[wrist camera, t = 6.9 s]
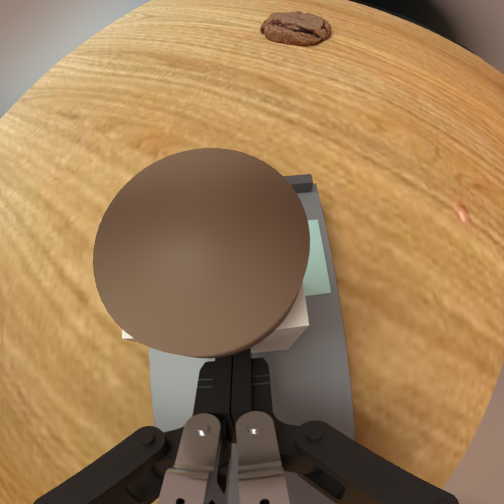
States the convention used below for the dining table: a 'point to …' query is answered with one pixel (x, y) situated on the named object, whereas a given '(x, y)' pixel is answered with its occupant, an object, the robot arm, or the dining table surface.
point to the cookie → (296, 28)
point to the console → (281, 362)
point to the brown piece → (205, 256)
